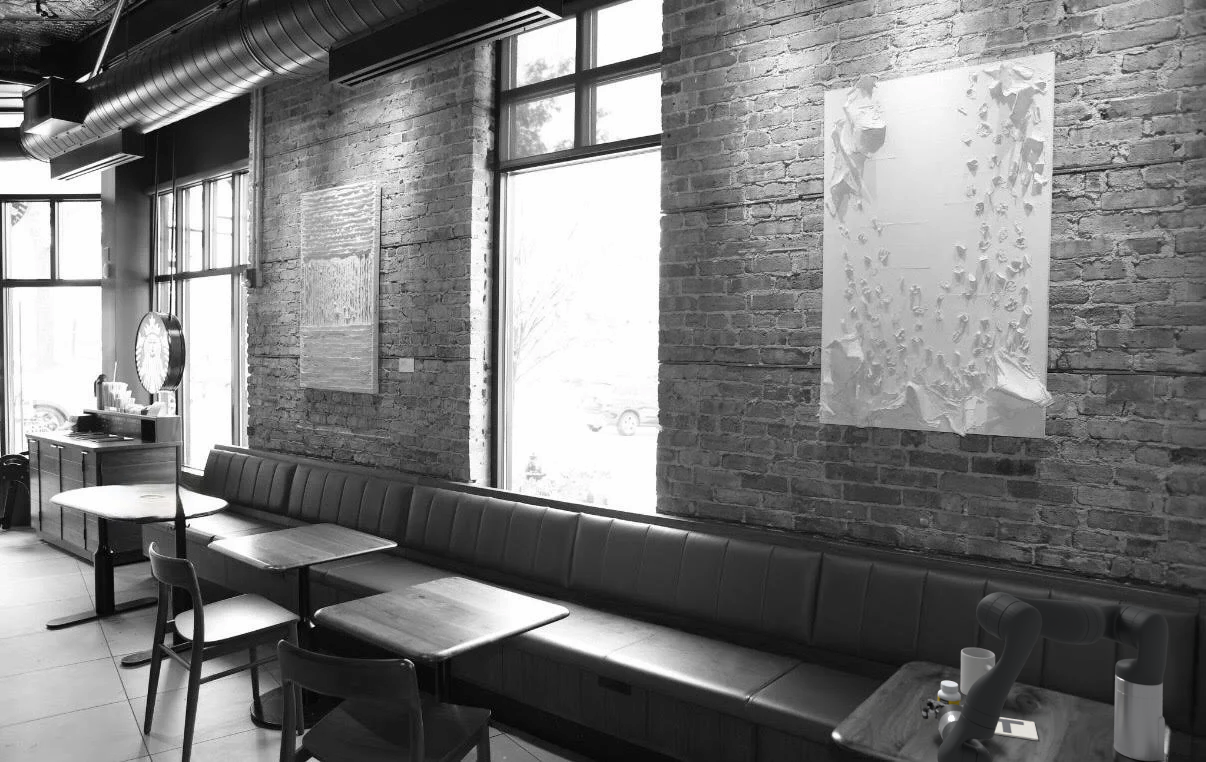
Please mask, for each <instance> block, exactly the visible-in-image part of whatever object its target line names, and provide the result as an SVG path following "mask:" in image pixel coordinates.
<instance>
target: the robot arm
mask: <svg viewBox="0 0 1206 762" xmlns="http://www.w3.org/2000/svg"><path fill="white" fill-rule="evenodd" d="M975 613H976V614H975V616H976V619H977V621H978V624H979V625H980V627H982V629H984V630H985V631H986V632H987V633H988V634H990V635H992V636H994V637H995V638H997V639H998V640H1001V641H1002V642H1004V647H1003V651H1002V653H1001V656H1000V658H999V660H998V661H997V662H996V663H995V666H994V667H993V668H992V669H990V670H989V671H988V672H987V673H986V674H984V675H983V676H982V677H980V678H979V679H978V680H977V681H976V682H975V683H974V684H973V685H972V686H971V688H970V689H969V691H968V694H967V696H966V695H965V696H966V697H965V699H964V703H963V704H961V706H960V705H956V704H950V705H947V704H946V705H945V704H944V703H942V702H940V701H938V700H935V697H934V694H933V693H930V694H929V695H927V696H926V699H924V698H920V701H919V703H920V705H919V706H920V707H919V710H920V714H921V717H922V719H924V720H929V718H930V717H934V718H935V719H936V720H937V724H938V731H939V735H940V736H941V739H942V742H941V744H940V746H939V748H938V751H937V753H936V755H937V757H936V759H937V762H993V758H992V756H991V754H990V752H989V750H988V749H987V748H986V746H985V745H983V743H982V742H981V741H989V740H991V739H992V738H993V737H994V735H995V734H994V733H995V730H996V727H997V724H998V721H999V718H1000V717H1001V715H1002V711H1003V709H1004V708H1003V707H1004V706H1005V702H1006V700H1007V697H1008V695H1009V693H1010V691H1011V690H1012V687H1013V685H1014V683H1015V682H1016V680H1017V679H1018V676H1019V675H1020V674H1021V671H1022V669H1023V668H1024V666H1025V664H1026V663H1027V660H1028V658H1029V656H1030V655H1031V653H1032V650H1033V649H1034V647H1035V645H1036V643H1037V641H1038V639H1039V637H1041V638H1045V639H1047V640H1050V641H1053V642H1057V643H1060V644H1068V645H1081V646H1083V645H1085V646H1086V645H1087V646H1088V645H1091V644H1095V643H1096V642H1098V641H1100V639H1105V640H1109V641H1113V642H1115V643H1118V644H1121V645H1123V646H1126V647H1130V648H1132V649H1137V656H1136V658H1125V659H1120V660H1118V661H1117V662H1116V663H1115V668H1114V669H1115V670H1114V672H1115V675H1114V679H1115V680H1114V720H1113V721H1114V723H1113V724H1114V726H1113V727H1114V730H1113V731H1114V732H1113V748H1114V750H1115V751H1116V752H1117V753H1119V754H1120V755H1123V756H1124V757H1126V758H1130V759H1134V760H1137V761H1144V762H1156V761H1159V762H1160V761H1161V762H1165V733H1166V732H1165V731H1166V730H1165V729H1166V728H1165V727H1166V726H1165V725H1166V722H1165V721H1166V720H1165V717H1164V716H1163V698H1164V697H1163V695H1164V694H1163V692H1164V691H1163V690H1164V689H1163V687H1164V686H1163V685H1164V675H1165V670H1166V668H1167V667H1166V666H1167V656H1168V645H1169V643H1168V642H1169V625H1168V621H1167V619H1166V616H1164V615H1163V614H1161V613H1160V612H1158V611H1154V610H1150V609H1146V608H1144V607H1143V608H1142V607H1139V606H1136V605H1132V604H1125V603H1123V604H1122V603H1121V604H1120V603H1119V604H1107V605H1096V604H1095V603H1089V602H1083V601H1078V600H1068V599H1067V600H1063V599H1062V600H1061V599H1059V600H1058V599H1046V598H1031V597H1024V596H1019V595H1015V594H1011V593H1008V592H1003V591H997V592H993V593H989V594H987V595H986V596H985V597H983V598H982V599H981V600H980V601H979V602H978V605H977V606H976V611H975Z"/></svg>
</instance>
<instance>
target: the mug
mask: <svg viewBox="0 0 1206 762" xmlns="http://www.w3.org/2000/svg"><path fill="white" fill-rule="evenodd" d="M995 665H996V655H995V653H994V652H993V651H991V650H988V649H984V648H980V647H964V648H963V649H961V651H960V686H959V687H960V692H961V693H962V694H963V695H965V696H967V694H968V691H969V689H970V688H971V686H972V685H973V684H974V683H975V682H976V681H977V680H978V679H979V678H980V677H982V676H983V675H984V674H986V673H987V672H988V671H989V670H990V669H992V668H993V667H994V666H995Z"/></svg>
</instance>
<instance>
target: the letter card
mask: <svg viewBox="0 0 1206 762" xmlns="http://www.w3.org/2000/svg"><path fill="white" fill-rule="evenodd" d="M994 735H999V736H1004V737H1012V738H1017V739H1026V740H1032V741H1039V737H1038V733H1037V727H1036V725H1035V721H1031V720H1024V719H1023V720H1022V719H1016V718H1015V719H1014V718H1008V717H1001V716H1000V718H999V721H998V724H997V727H996V730H995V733H994Z"/></svg>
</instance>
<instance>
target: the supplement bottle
mask: <svg viewBox="0 0 1206 762" xmlns="http://www.w3.org/2000/svg"><path fill="white" fill-rule="evenodd" d="M937 701H940V702H942V703H944V704H945V705H946V704H947V705H950V704H956V705H960V706H962V695H961V693H960V692H959V684H958V683H957V682H955V681H951V680H942V681H941V682H940V689H939V690H938V691H937Z"/></svg>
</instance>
